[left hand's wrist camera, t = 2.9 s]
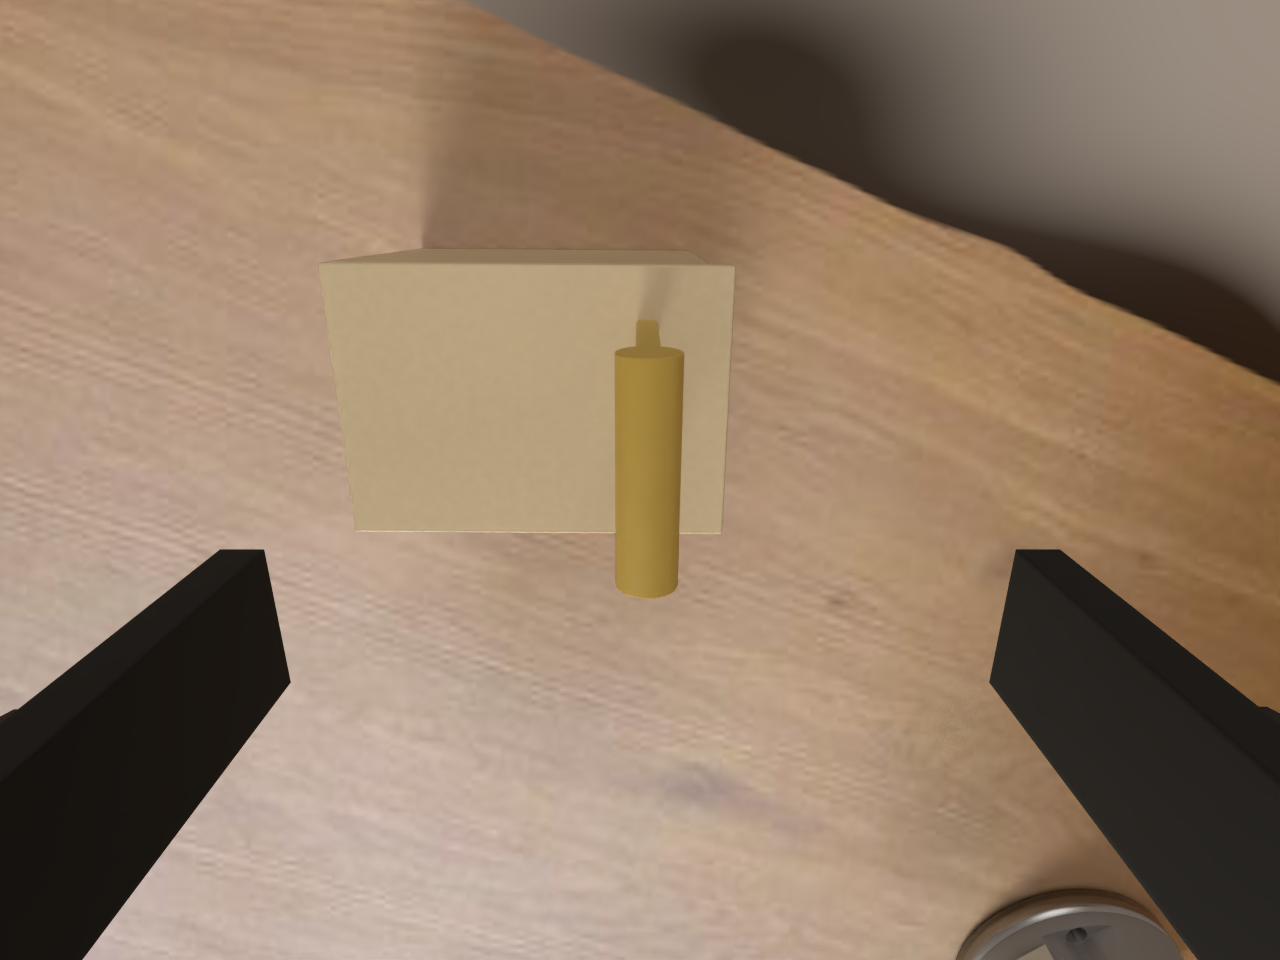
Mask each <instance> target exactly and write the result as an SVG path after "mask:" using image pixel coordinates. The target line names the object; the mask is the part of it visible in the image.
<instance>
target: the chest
mask: <svg viewBox="0 0 1280 960" xmlns="http://www.w3.org/2000/svg"><path fill="white" fill-rule="evenodd" d="M334 261H359V262H486V263H612V264H709V263H708V262H706V261H705V260H703V259H702V258H700V257H698V256H697V255H695V254H694V253H692V252H690V251H673V250H547V249H414V250H407V251H400V252H392V253H385V254H378V255H370V256H363V257H356V258H348V259H341V260H334Z"/></svg>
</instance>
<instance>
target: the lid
mask: <svg viewBox="0 0 1280 960" xmlns="http://www.w3.org/2000/svg"><path fill="white" fill-rule="evenodd" d="M318 266H319V273H320V280H321V287H322V294H323V301H324V308H325V315H326V322H327V330H328V337H329V344H330V351H331V358H332V365H333V372H334V379H335V386H336V394H337V401H338V408H339V415H340V422H341V429H342V436H343V443H344V450H345V458H346V465H347V472H348V479H349V486H350V493H351V500H352V507H353V514H354V522H355V529H356V531H373V532H526V533H615V573H616V586H617V588H618V589H619V590H620V591H621V592H622V593H624V594H626V595H628V596H631V597H635V598H642V599H652V598H660V597H663V596H666V595H669V594H670V593H672V592H673V591H674V590H675V589H676V588H677V585H678V558H679V534H721V533H722V525H723V506H724V487H725V467H726V448H727V428H728V409H729V389H730V370H731V351H732V331H733V312H734V292H735V273H736V267H735V266H734V265H731V264H612V263H486V262H359V261H327V262H320V263H319V264H318Z"/></svg>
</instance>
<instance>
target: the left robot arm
mask: <svg viewBox="0 0 1280 960" xmlns="http://www.w3.org/2000/svg"><path fill="white" fill-rule="evenodd" d="M290 683H291V682H290V677H289V672H288V667H287V662H286V657H285V652H284V647H283V642H282V637H281V632H280V627H279V622H278V617H277V612H276V607H275V602H274V597H273V592H272V587H271V582H270V577H269V572H268V567H267V562H266V557H265V552H264V550H219V551H218V552H216V553H215V554H214V555H213V556H211V557H210V558H209V559H208V560H206V561H205V562H204V563H203V564H201V565H200V566H199V567H197V568H196V569H195V570H194V571H192V572H191V573H190V574H189V575H187V576H186V577H185V578H184V579H182V580H181V581H180V582H178V583H177V584H176V585H175V586H173V587H172V588H171V589H170V590H168V591H167V592H166V593H165V594H163V595H162V596H161V597H160V598H158V599H157V600H156V601H154V602H153V603H152V604H151V605H149V606H148V607H147V608H146V609H144V610H143V611H142V612H141V613H139V614H138V615H137V616H136V617H134V618H133V619H132V620H130V621H129V622H128V623H127V624H125V625H124V626H123V627H122V628H120V629H119V630H118V631H117V632H115V633H114V634H113V635H112V636H110V637H109V638H108V639H106V640H105V641H104V642H103V643H101V644H100V645H99V646H98V647H96V648H95V649H94V650H93V651H91V652H90V653H89V654H87V655H86V656H85V657H84V658H82V659H81V660H80V661H79V662H77V663H76V664H75V665H74V666H72V667H71V668H70V669H69V670H67V671H66V672H65V673H63V674H62V675H61V676H60V677H58V678H57V679H56V680H55V681H53V682H52V683H51V684H50V685H48V686H47V687H46V688H45V689H43V690H42V691H41V692H39V693H38V694H37V695H36V696H34V697H33V698H32V699H31V700H29V701H28V702H27V703H26V704H24V705H23V706H22V707H20V708H19V709H14V710H12V711H10V712H8V713H6V714H4V715H2V716H0V960H82V959H83V958H84V957H85V955H86V954H87V953H88V951H89V950H90V949H91V947H92V946H93V945H94V943H95V942H96V941H97V939H98V938H99V937H100V935H101V934H102V933H103V931H104V930H105V929H106V927H107V926H108V925H109V923H110V922H111V921H112V919H113V918H114V917H115V916H116V914H117V913H118V912H119V910H120V909H121V908H122V906H123V905H124V904H125V902H126V901H127V900H128V898H129V897H130V896H131V894H132V893H133V892H134V890H135V889H136V888H137V886H138V885H139V884H140V882H141V881H142V880H143V878H144V877H145V876H146V874H147V873H148V872H149V870H150V869H151V868H152V866H153V865H154V864H155V862H156V861H157V860H158V858H159V857H160V856H161V854H162V853H163V852H164V850H165V849H166V848H167V846H168V845H169V844H170V842H171V841H172V840H173V838H174V837H175V836H176V834H177V833H178V832H179V830H180V829H181V828H182V826H183V825H184V824H185V822H186V821H187V820H188V818H189V817H190V816H191V814H192V813H193V812H194V810H195V809H196V808H197V806H198V805H199V804H200V802H201V801H202V800H203V798H204V797H205V796H206V794H207V793H208V792H209V790H210V789H211V788H212V786H213V785H214V784H215V782H216V781H217V780H218V778H219V777H220V776H221V774H222V773H223V772H224V770H225V769H226V768H227V766H228V765H229V764H230V762H231V761H232V760H233V758H234V757H235V756H236V754H237V753H238V752H239V750H240V749H241V748H242V746H243V745H244V744H245V742H246V741H247V740H248V738H249V737H250V736H251V734H252V733H253V732H254V730H255V729H256V728H257V726H258V725H259V724H260V723H261V721H262V720H263V719H264V717H265V716H266V715H267V713H268V712H269V711H270V709H271V708H272V707H273V705H274V704H275V703H276V701H277V700H278V699H279V697H280V696H281V695H282V693H283V692H284V691H285V689H286V688H287V687H288V685H289V684H290ZM989 683H990V684H991V685H992V687H993V688H994V689H995V691H996V692H997V693H998V695H999V696H1000V697H1001V699H1002V700H1003V701H1004V703H1005V704H1006V705H1007V707H1008V708H1009V709H1010V711H1011V712H1012V713H1013V715H1014V716H1015V717H1016V719H1017V720H1018V721H1019V723H1020V724H1021V725H1022V726H1023V728H1024V729H1025V730H1026V732H1027V733H1028V734H1029V736H1030V737H1031V738H1032V740H1033V741H1034V742H1035V744H1036V745H1037V746H1038V748H1039V749H1040V750H1041V752H1042V753H1043V754H1044V756H1045V757H1046V758H1047V760H1048V761H1049V762H1050V764H1051V765H1052V766H1053V768H1054V769H1055V770H1056V772H1057V773H1058V774H1059V776H1060V777H1061V778H1062V780H1063V781H1064V782H1065V784H1066V785H1067V786H1068V788H1069V789H1070V790H1071V792H1072V793H1073V794H1074V796H1075V797H1076V798H1077V800H1078V801H1079V802H1080V804H1081V805H1082V806H1083V808H1084V809H1085V810H1086V812H1087V813H1088V814H1089V816H1090V817H1091V818H1092V820H1093V821H1094V822H1095V824H1096V825H1097V826H1098V828H1099V829H1100V830H1101V832H1102V833H1103V834H1104V836H1105V837H1106V838H1107V840H1108V841H1109V842H1110V844H1111V845H1112V846H1113V848H1114V849H1115V850H1116V852H1117V853H1118V854H1119V856H1120V857H1121V858H1122V860H1123V861H1124V862H1125V864H1126V865H1127V866H1128V868H1129V869H1130V870H1131V872H1132V873H1133V874H1134V876H1135V877H1136V878H1137V880H1138V881H1139V882H1140V884H1141V885H1142V886H1143V888H1144V889H1145V890H1146V892H1147V893H1148V894H1149V896H1150V897H1151V898H1152V900H1153V901H1154V902H1155V904H1156V905H1157V906H1158V908H1159V909H1160V910H1161V912H1162V913H1163V914H1164V916H1165V917H1166V918H1167V919H1168V921H1169V922H1170V923H1171V925H1172V926H1173V927H1174V929H1175V930H1176V931H1177V933H1178V934H1179V935H1180V937H1181V938H1182V939H1183V941H1184V942H1185V943H1186V945H1187V946H1188V947H1189V949H1190V950H1191V951H1192V953H1193V954H1194V955H1195V957H1196V958H1197V959H1198V960H1280V713H1278V712H1276V711H1274V710H1272V709H1270V708H1268V707H1258V706H1257V705H1256V704H1254V703H1253V702H1252V701H1251V700H1249V699H1248V698H1247V697H1246V696H1244V695H1243V694H1242V693H1241V692H1239V691H1238V690H1237V689H1235V688H1234V687H1233V686H1232V685H1230V684H1229V683H1228V682H1227V681H1225V680H1224V679H1223V678H1222V677H1220V676H1219V675H1218V674H1217V673H1215V672H1214V671H1213V670H1211V669H1210V668H1209V667H1208V666H1206V665H1205V664H1204V663H1203V662H1201V661H1200V660H1199V659H1198V658H1196V657H1195V656H1194V655H1193V654H1191V653H1190V652H1189V651H1187V650H1186V649H1185V648H1184V647H1182V646H1181V645H1180V644H1179V643H1177V642H1176V641H1175V640H1174V639H1172V638H1171V637H1170V636H1168V635H1167V634H1166V633H1165V632H1163V631H1162V630H1161V629H1160V628H1158V627H1157V626H1156V625H1155V624H1153V623H1152V622H1151V621H1150V620H1148V619H1147V618H1146V617H1144V616H1143V615H1142V614H1141V613H1139V612H1138V611H1137V610H1136V609H1134V608H1133V607H1132V606H1131V605H1129V604H1128V603H1127V602H1126V601H1124V600H1123V599H1122V598H1120V597H1119V596H1118V595H1117V594H1115V593H1114V592H1113V591H1112V590H1110V589H1109V588H1108V587H1107V586H1105V585H1104V584H1103V583H1102V582H1100V581H1099V580H1098V579H1096V578H1095V577H1094V576H1093V575H1091V574H1090V573H1089V572H1088V571H1086V570H1085V569H1084V568H1083V567H1081V566H1080V565H1079V564H1077V563H1076V562H1075V561H1074V560H1072V559H1071V558H1070V557H1069V556H1067V555H1066V554H1065V553H1064V552H1062V551H1061V550H1016V552H1015V557H1014V562H1013V567H1012V572H1011V577H1010V582H1009V587H1008V592H1007V597H1006V602H1005V607H1004V612H1003V617H1002V622H1001V627H1000V632H999V637H998V642H997V647H996V652H995V657H994V662H993V667H992V672H991V677H990V682H989ZM956 960H1183V958H1182V956H1181V954H1180V951H1179V949H1178V947H1177V945H1176V944H1175V943H1174V941H1173V940H1172V939H1171V937H1170V936H1169V935H1168V933H1167V932H1166V930H1165V929H1164V928H1163V926H1162V925H1161V924H1160V922H1159V921H1158V920H1157V918H1156V917H1155V916H1154V915H1153V914H1152V913H1151V912H1150V911H1149V910H1148V909H1146V908H1145V907H1144V906H1142V905H1141V904H1139V903H1137V902H1136V901H1133V900H1131V899H1129V898H1127V897H1124V896H1121V895H1118V894H1114V893H1110V892H1105V891H1099V890H1081V889H1077V890H1064V891H1056V892H1051V893H1046V894H1042V895H1038V896H1035V897H1032V898H1029V899H1026V900H1023V901H1021V902H1018V903H1016V904H1014V905H1011V906H1010V907H1008V908H1006V909H1004V910H1002V911H1000V912H999V913H997V914H995V915H994V916H993V917H991V918H990V919H988V920H987V921H986V922H985V923H983V924H982V925H981V926H980V927H979V928H978V929H977V930H976V931H975V932H974V933H973V934H972V935H971V936H970V937H969V939H968V940H967V941H966V942H965V944H964V946H963V947H962V949H961V951H960V952H959V954H958V957H957V959H956Z"/></svg>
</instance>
